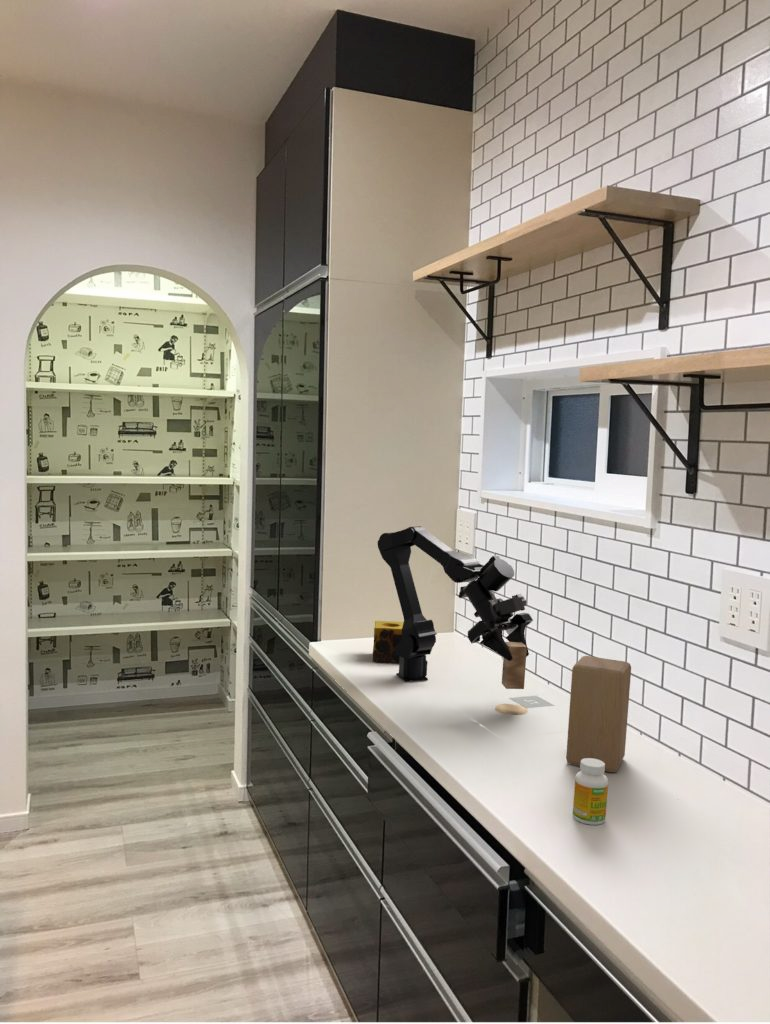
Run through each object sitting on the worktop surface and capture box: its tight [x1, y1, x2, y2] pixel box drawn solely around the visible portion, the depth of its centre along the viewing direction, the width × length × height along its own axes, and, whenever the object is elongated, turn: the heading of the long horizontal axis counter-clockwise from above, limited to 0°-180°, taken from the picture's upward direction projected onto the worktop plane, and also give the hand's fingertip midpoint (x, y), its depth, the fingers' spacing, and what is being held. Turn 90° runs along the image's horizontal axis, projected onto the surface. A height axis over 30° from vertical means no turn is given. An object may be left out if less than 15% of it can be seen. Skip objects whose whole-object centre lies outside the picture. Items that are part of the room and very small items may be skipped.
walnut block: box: [501, 641, 528, 690], centre depth 195 cm, size 4×4×10 cm
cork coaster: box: [494, 703, 529, 716], centre depth 195 cm, size 8×8×1 cm
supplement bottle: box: [572, 758, 609, 826], centre depth 140 cm, size 5×5×10 cm
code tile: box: [508, 695, 555, 709], centre depth 202 cm, size 8×8×1 cm
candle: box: [372, 620, 404, 665], centre depth 236 cm, size 10×10×10 cm
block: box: [565, 655, 632, 774], centre depth 165 cm, size 10×10×20 cm
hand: (519, 657), depth 193 cm, fingers closed on walnut block, 6 cm apart
